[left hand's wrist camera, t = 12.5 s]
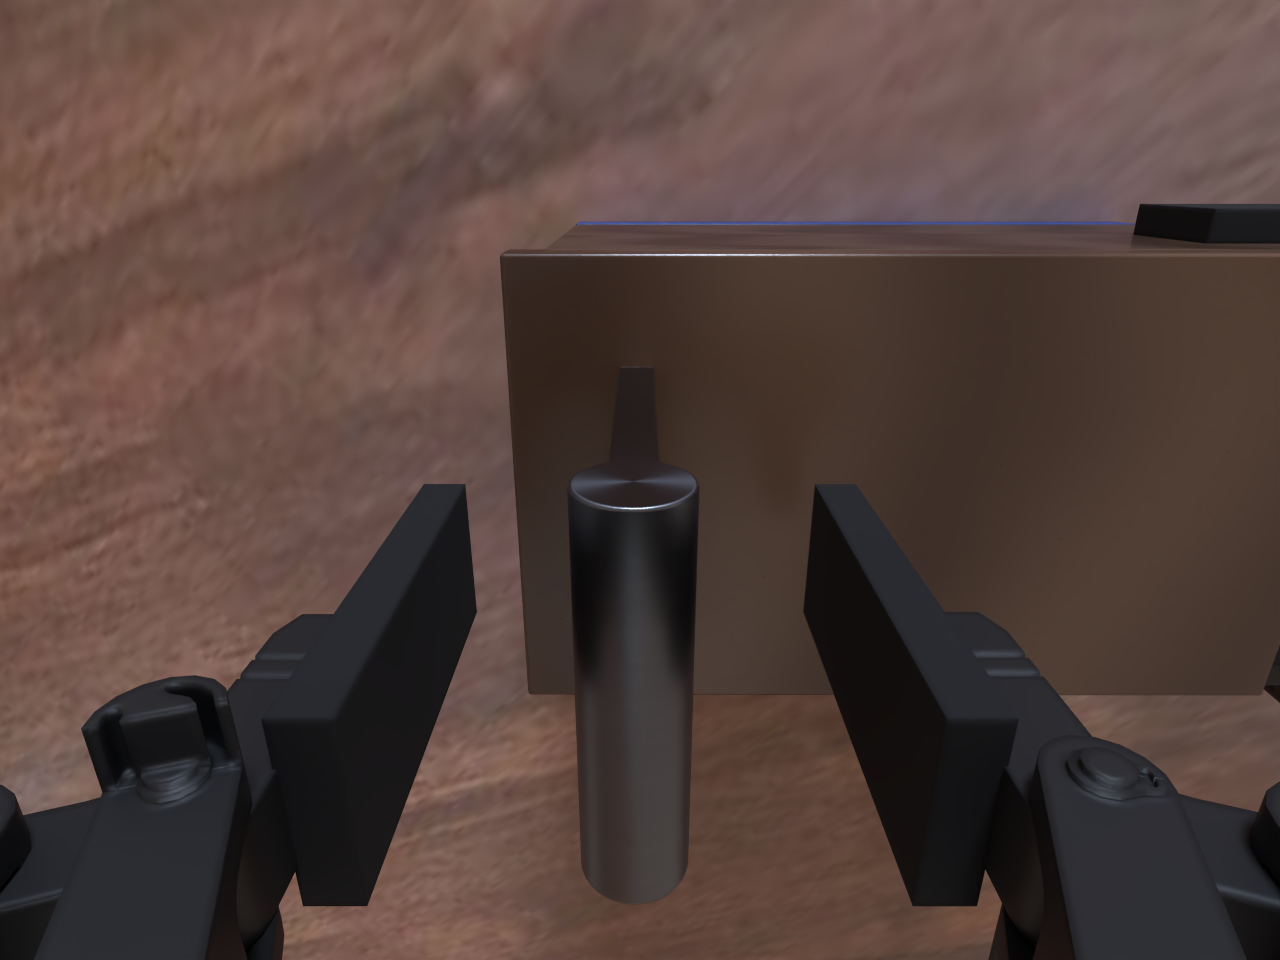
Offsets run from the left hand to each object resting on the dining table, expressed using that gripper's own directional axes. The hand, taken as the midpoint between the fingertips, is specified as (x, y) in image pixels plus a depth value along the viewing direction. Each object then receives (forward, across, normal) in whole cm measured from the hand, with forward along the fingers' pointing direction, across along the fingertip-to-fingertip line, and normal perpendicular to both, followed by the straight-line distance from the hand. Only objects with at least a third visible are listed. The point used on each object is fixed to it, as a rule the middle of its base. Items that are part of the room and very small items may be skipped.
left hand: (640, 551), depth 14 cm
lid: (+3, -6, 0) cm, 7 cm away
